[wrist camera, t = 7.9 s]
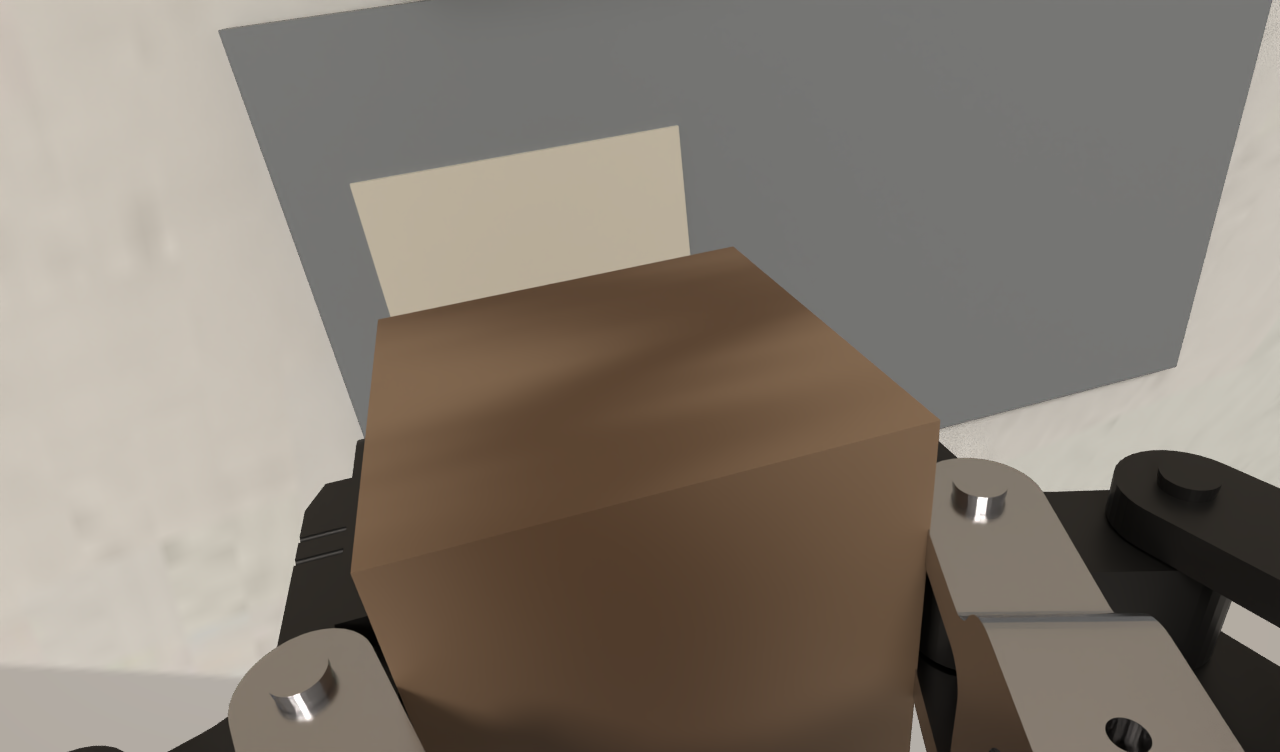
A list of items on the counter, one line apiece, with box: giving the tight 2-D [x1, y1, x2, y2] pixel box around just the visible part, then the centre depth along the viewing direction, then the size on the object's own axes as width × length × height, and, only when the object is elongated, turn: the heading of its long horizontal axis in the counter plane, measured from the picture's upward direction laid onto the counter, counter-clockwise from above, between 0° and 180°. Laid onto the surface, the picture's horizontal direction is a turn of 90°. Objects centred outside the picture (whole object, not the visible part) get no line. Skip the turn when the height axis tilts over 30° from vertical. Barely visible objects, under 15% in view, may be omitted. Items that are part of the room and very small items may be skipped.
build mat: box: [218, 0, 1272, 438], centre depth 17 cm, size 22×12×1 cm, turn 97°
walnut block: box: [350, 247, 940, 752], centre depth 10 cm, size 5×5×5 cm
